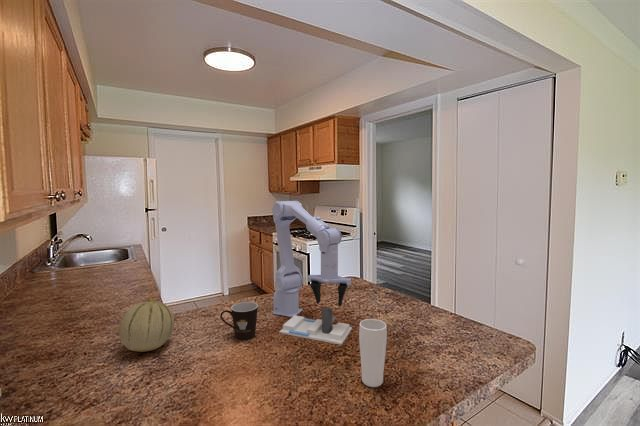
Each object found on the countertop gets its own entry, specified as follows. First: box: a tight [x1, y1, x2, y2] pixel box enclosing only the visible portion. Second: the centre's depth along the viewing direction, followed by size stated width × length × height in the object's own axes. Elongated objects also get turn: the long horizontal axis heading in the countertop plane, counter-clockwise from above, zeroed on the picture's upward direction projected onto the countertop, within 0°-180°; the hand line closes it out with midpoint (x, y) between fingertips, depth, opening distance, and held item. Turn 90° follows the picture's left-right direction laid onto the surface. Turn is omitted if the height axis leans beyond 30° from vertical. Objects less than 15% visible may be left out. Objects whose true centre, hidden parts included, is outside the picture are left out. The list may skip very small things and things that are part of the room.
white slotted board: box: [279, 315, 353, 345], centre depth 107 cm, size 22×12×2 cm, turn 68°
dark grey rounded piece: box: [321, 307, 337, 334], centre depth 108 cm, size 4×10×8 cm, turn 158°
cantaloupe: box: [118, 297, 175, 353], centre depth 95 cm, size 15×15×15 cm
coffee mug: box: [219, 301, 259, 342], centre depth 104 cm, size 12×9×10 cm
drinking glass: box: [358, 318, 388, 388], centre depth 78 cm, size 7×7×15 cm
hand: (329, 303), depth 105 cm, fingers open, 7 cm apart
